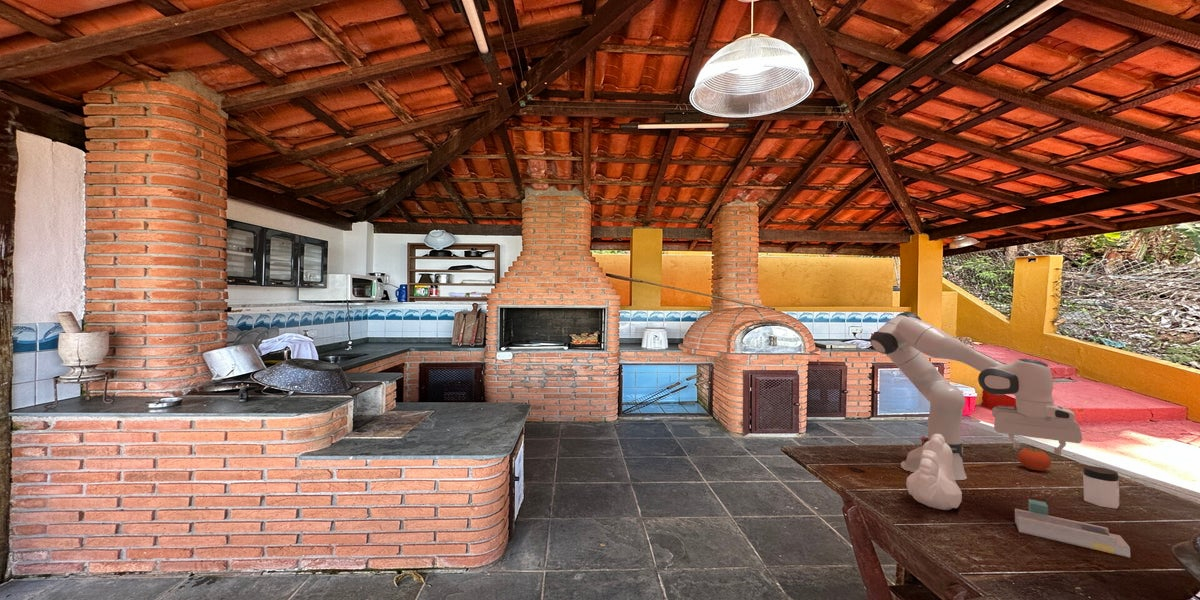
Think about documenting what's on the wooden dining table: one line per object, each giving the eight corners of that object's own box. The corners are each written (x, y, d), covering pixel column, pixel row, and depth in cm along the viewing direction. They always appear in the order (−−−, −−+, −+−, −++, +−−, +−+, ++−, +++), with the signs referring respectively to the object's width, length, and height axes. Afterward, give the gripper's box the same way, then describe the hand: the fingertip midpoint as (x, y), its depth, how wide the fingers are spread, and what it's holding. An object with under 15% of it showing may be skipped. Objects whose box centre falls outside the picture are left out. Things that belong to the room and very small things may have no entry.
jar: (1117, 511, 147) (1116, 476, 147) (1082, 502, 154) (1081, 468, 154) (1121, 504, 152) (1120, 470, 152) (1087, 496, 159) (1086, 464, 159)
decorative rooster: (921, 490, 163) (920, 426, 164) (972, 507, 149) (971, 436, 150) (886, 505, 151) (884, 435, 152) (938, 524, 137) (936, 447, 138)
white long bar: (1019, 535, 130) (1018, 517, 130) (1015, 525, 137) (1014, 508, 137) (1130, 562, 117) (1129, 542, 117) (1120, 549, 123) (1119, 530, 123)
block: (1030, 522, 136) (1030, 503, 137) (1028, 517, 140) (1028, 499, 140) (1048, 525, 134) (1048, 506, 134) (1046, 521, 137) (1045, 502, 137)
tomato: (1017, 469, 185) (1016, 446, 186) (1018, 464, 192) (1018, 441, 193) (1051, 476, 178) (1050, 452, 178) (1051, 470, 185) (1050, 447, 185)
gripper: (991, 405, 144) (993, 446, 144) (1082, 415, 130) (1084, 460, 130) (991, 403, 149) (993, 442, 148) (1078, 411, 135) (1081, 455, 135)
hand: (1036, 451), depth 139 cm, fingers open, 8 cm apart
